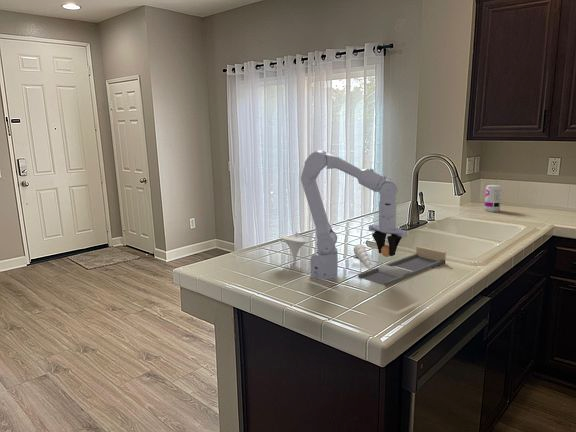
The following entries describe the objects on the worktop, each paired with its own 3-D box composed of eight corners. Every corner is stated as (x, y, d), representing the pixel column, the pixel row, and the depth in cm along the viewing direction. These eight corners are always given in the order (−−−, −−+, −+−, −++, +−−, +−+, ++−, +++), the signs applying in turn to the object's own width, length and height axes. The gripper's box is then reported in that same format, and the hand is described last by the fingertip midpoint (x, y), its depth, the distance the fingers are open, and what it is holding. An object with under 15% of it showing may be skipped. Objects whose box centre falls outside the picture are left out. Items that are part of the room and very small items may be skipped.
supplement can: (485, 211, 256) (486, 186, 253) (483, 209, 264) (485, 184, 261) (500, 212, 254) (502, 186, 251) (498, 209, 262) (500, 184, 259)
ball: (387, 258, 149) (387, 247, 148) (378, 256, 152) (378, 245, 151) (395, 256, 151) (395, 245, 150) (385, 254, 154) (385, 243, 153)
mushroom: (295, 256, 180) (294, 227, 178) (313, 261, 172) (313, 232, 170) (275, 261, 174) (274, 232, 171) (294, 267, 166) (293, 237, 163)
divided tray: (386, 297, 144) (386, 274, 143) (358, 288, 153) (358, 266, 152) (444, 272, 167) (445, 252, 165) (417, 265, 176) (418, 246, 174)
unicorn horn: (362, 274, 158) (362, 261, 157) (353, 255, 181) (353, 243, 180) (375, 273, 158) (376, 260, 157) (364, 254, 181) (364, 243, 180)
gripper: (412, 216, 145) (411, 255, 148) (377, 210, 156) (377, 247, 159) (399, 219, 141) (399, 260, 144) (364, 213, 152) (364, 251, 155)
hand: (386, 254), depth 151 cm, fingers closed on ball, 4 cm apart
